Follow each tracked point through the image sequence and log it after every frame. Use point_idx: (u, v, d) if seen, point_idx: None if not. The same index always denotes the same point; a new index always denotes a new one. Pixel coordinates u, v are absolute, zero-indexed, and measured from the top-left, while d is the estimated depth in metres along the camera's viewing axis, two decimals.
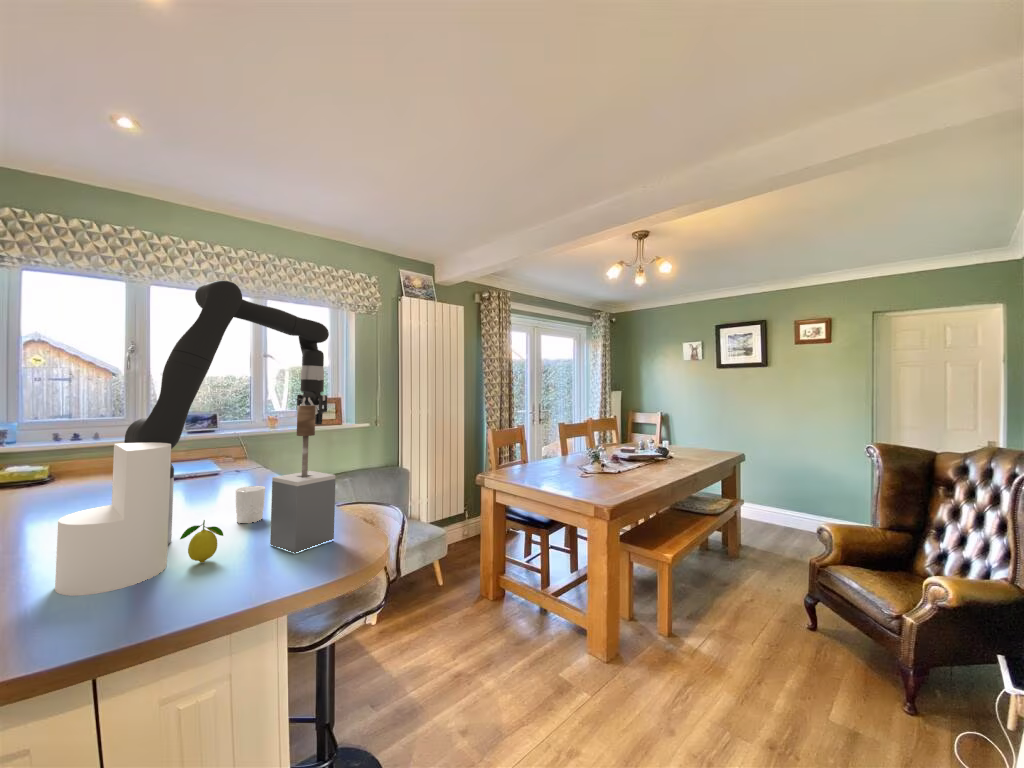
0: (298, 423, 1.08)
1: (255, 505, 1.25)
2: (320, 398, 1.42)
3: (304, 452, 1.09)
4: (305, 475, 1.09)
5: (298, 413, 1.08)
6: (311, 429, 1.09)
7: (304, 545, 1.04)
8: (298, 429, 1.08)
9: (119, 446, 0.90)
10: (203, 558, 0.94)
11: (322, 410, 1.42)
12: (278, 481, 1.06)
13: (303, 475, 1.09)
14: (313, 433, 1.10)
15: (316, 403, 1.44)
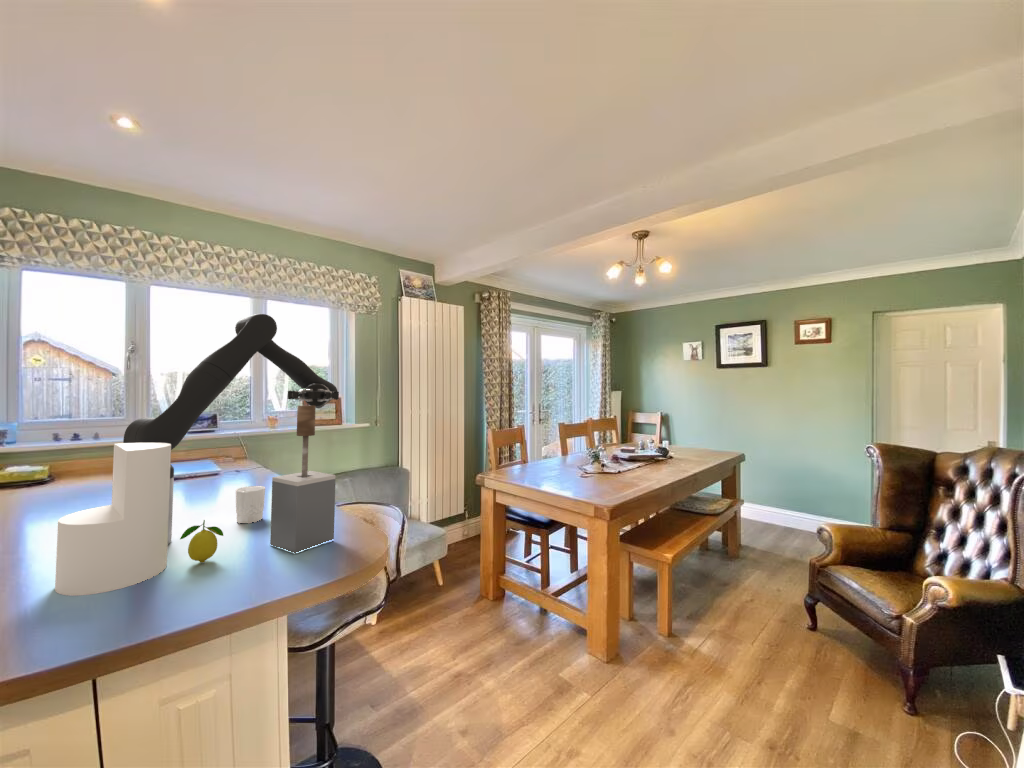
0: (298, 423, 1.08)
1: (255, 505, 1.25)
2: None
3: (304, 452, 1.09)
4: (305, 475, 1.09)
5: (298, 413, 1.08)
6: (311, 429, 1.09)
7: (304, 545, 1.04)
8: (298, 429, 1.08)
9: (119, 446, 0.90)
10: (203, 558, 0.94)
11: (338, 393, 1.28)
12: (278, 481, 1.06)
13: (303, 475, 1.09)
14: (313, 433, 1.10)
15: None
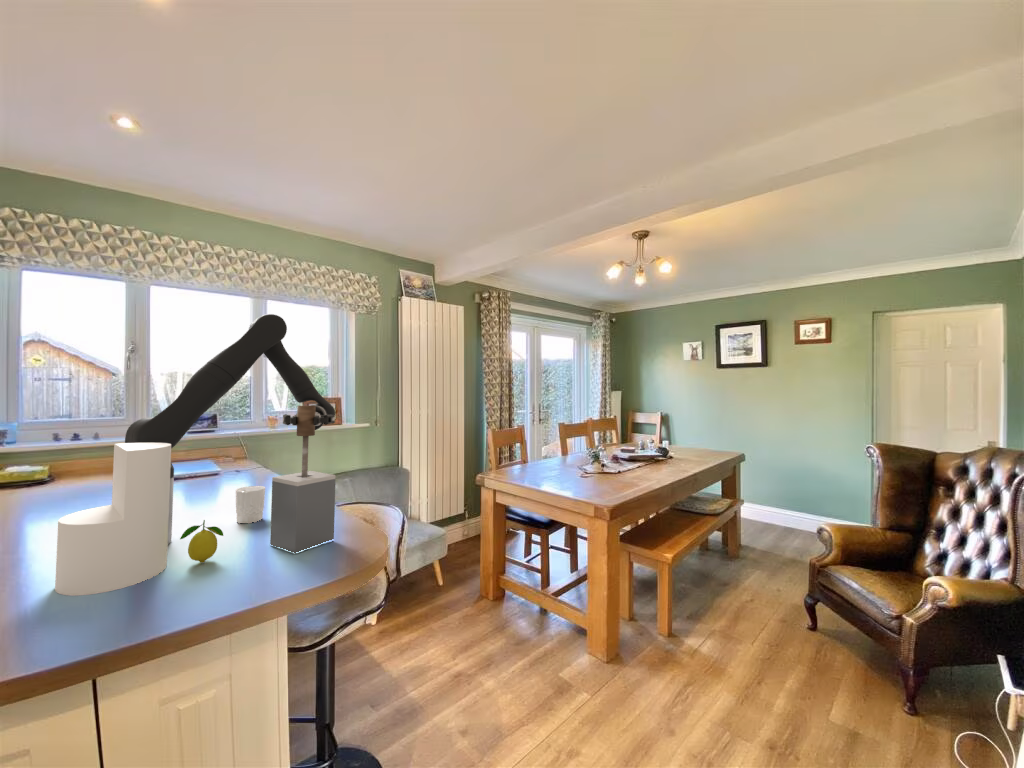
0: (298, 423, 1.08)
1: (255, 505, 1.25)
2: (332, 415, 1.18)
3: (304, 452, 1.09)
4: (305, 475, 1.09)
5: (298, 413, 1.08)
6: (311, 429, 1.09)
7: (304, 545, 1.04)
8: (298, 429, 1.08)
9: (119, 446, 0.90)
10: (203, 558, 0.94)
11: (328, 417, 1.14)
12: (278, 481, 1.06)
13: (303, 475, 1.09)
14: (313, 433, 1.10)
15: None
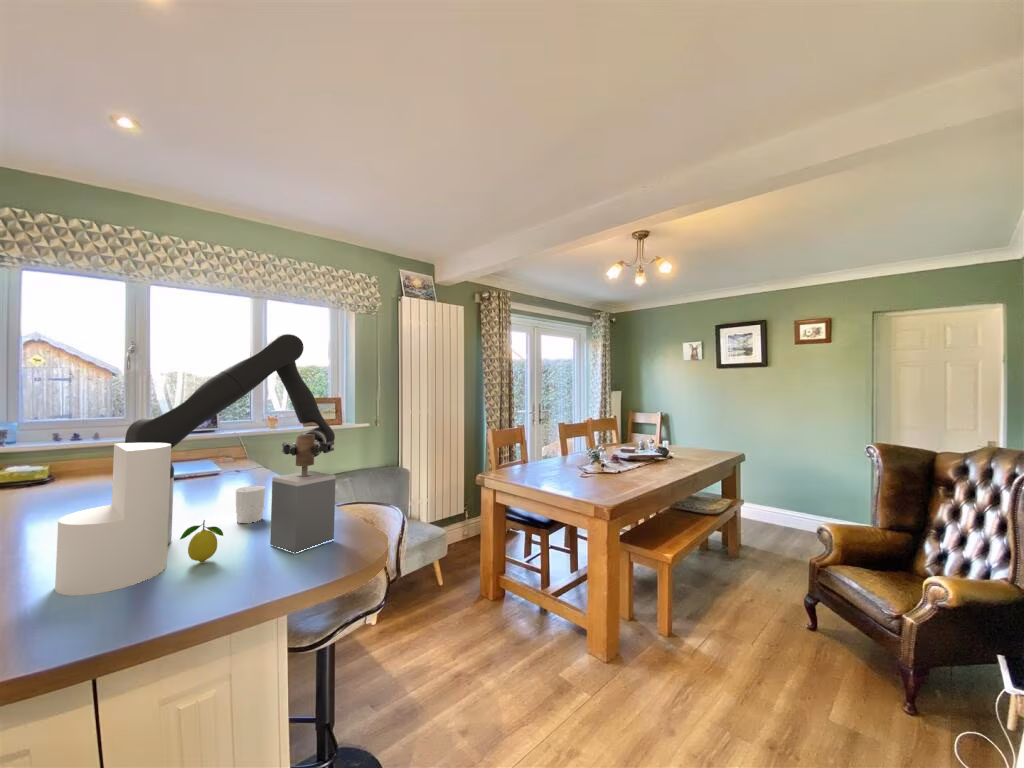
0: (297, 453, 1.08)
1: (255, 505, 1.25)
2: (332, 442, 1.18)
3: None
4: None
5: (297, 443, 1.08)
6: (311, 458, 1.09)
7: (304, 545, 1.04)
8: (297, 459, 1.08)
9: (119, 446, 0.90)
10: (203, 558, 0.94)
11: (327, 446, 1.14)
12: (278, 481, 1.06)
13: None
14: (312, 463, 1.09)
15: None
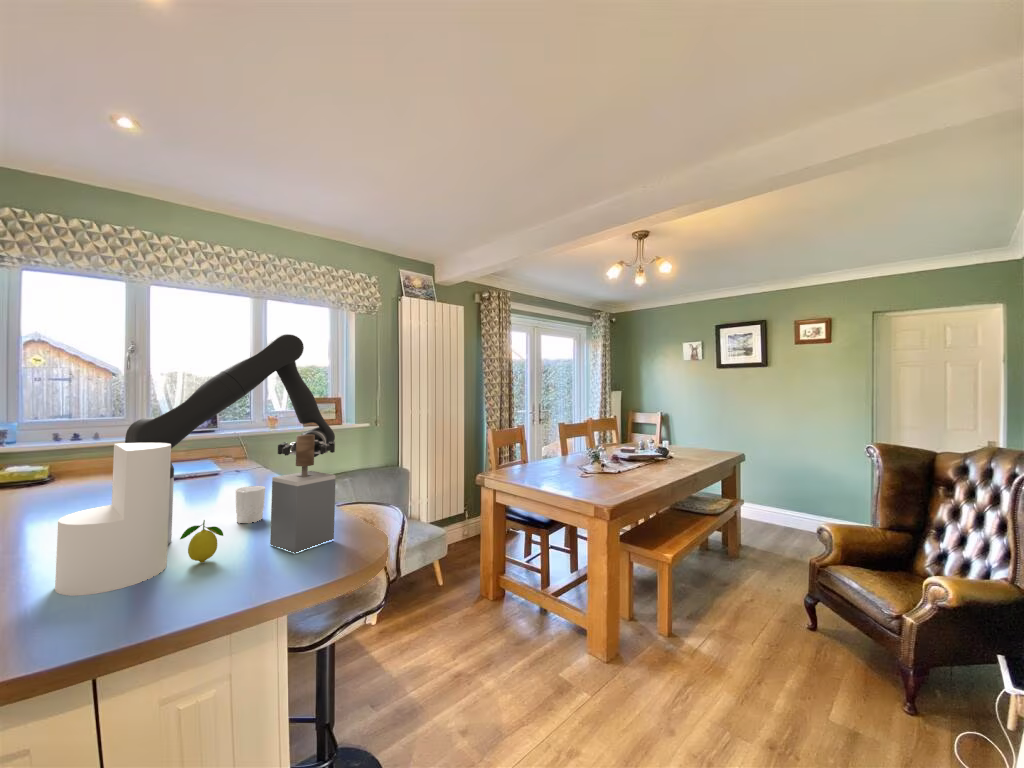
0: (297, 453, 1.08)
1: (255, 505, 1.25)
2: (333, 442, 1.19)
3: None
4: None
5: (297, 443, 1.08)
6: (311, 458, 1.09)
7: (304, 545, 1.04)
8: (297, 459, 1.08)
9: (119, 446, 0.90)
10: (203, 558, 0.94)
11: (334, 445, 1.15)
12: (278, 481, 1.06)
13: None
14: (312, 463, 1.09)
15: None
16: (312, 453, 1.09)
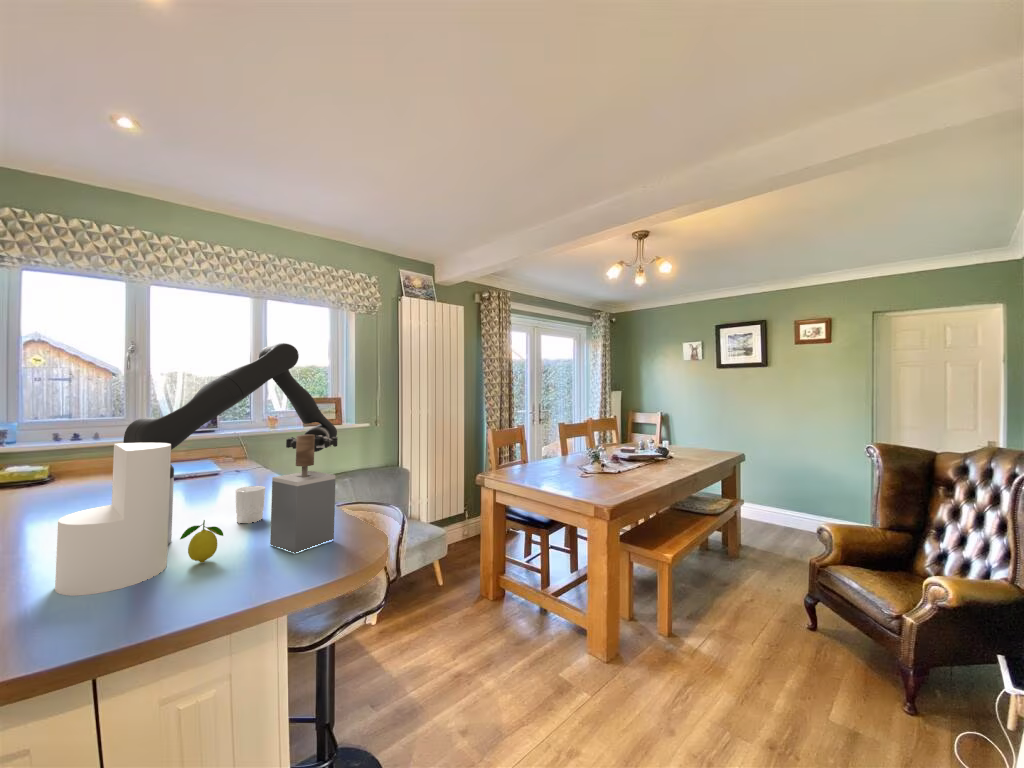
0: (297, 453, 1.08)
1: (255, 505, 1.25)
2: (336, 437, 1.31)
3: None
4: None
5: (297, 443, 1.08)
6: (311, 458, 1.09)
7: (304, 545, 1.04)
8: (297, 459, 1.08)
9: (119, 446, 0.90)
10: (203, 558, 0.94)
11: None
12: (278, 481, 1.06)
13: None
14: (312, 463, 1.09)
15: None
16: (312, 453, 1.09)
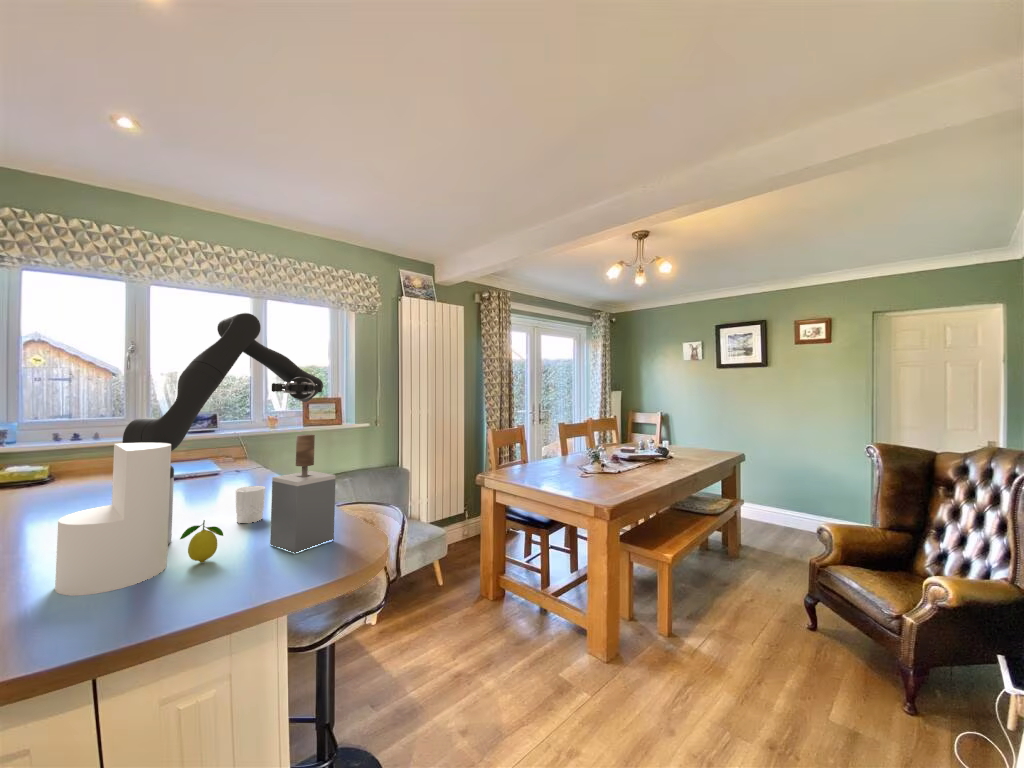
0: (297, 453, 1.08)
1: (255, 505, 1.25)
2: None
3: None
4: None
5: (297, 443, 1.08)
6: (311, 458, 1.09)
7: (304, 545, 1.04)
8: (297, 459, 1.08)
9: (119, 446, 0.90)
10: (203, 558, 0.94)
11: (321, 386, 1.31)
12: (278, 481, 1.06)
13: None
14: (312, 463, 1.09)
15: None
16: (312, 453, 1.09)
